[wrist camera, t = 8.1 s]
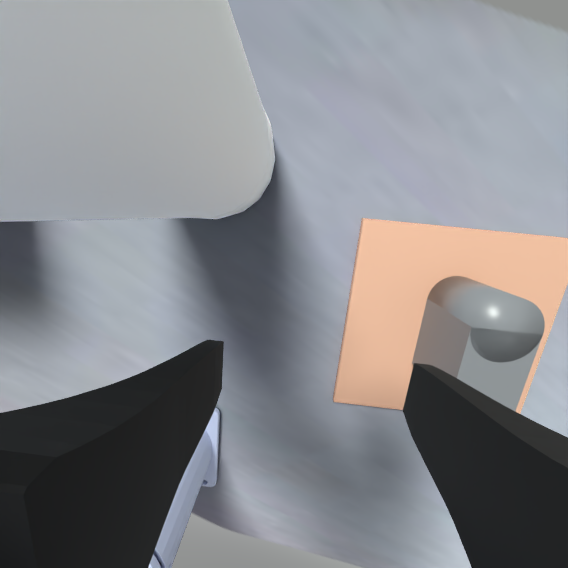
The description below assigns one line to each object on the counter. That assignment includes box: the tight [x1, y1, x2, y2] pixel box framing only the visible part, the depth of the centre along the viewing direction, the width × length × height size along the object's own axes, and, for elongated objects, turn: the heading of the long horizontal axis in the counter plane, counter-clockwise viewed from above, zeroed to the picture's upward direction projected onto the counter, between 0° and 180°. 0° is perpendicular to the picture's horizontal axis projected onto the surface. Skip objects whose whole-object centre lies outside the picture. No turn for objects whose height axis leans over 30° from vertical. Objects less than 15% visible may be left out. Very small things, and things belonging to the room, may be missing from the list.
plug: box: [412, 276, 545, 411], centre depth 17 cm, size 4×9×5 cm, turn 175°
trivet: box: [333, 218, 568, 414], centre depth 20 cm, size 14×14×1 cm
